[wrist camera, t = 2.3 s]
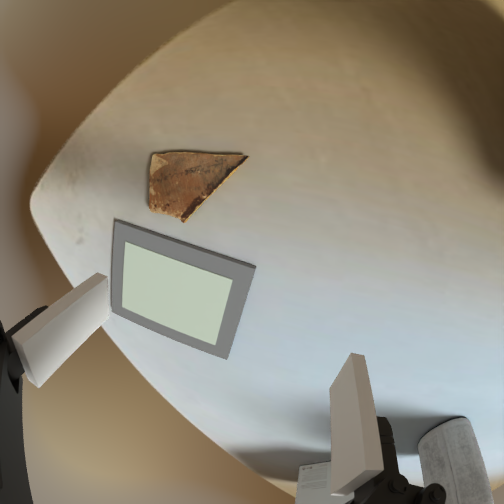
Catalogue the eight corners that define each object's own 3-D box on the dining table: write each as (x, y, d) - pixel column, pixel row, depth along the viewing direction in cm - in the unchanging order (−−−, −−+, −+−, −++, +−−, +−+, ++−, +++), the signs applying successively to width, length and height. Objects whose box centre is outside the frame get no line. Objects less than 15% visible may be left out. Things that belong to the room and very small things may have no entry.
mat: (118, 219, 32) (114, 221, 31) (256, 266, 31) (254, 269, 30) (114, 309, 38) (111, 312, 37) (228, 356, 36) (226, 360, 35)
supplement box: (316, 484, 48) (309, 544, 32) (298, 465, 45) (288, 535, 29) (370, 474, 44) (371, 536, 28) (361, 453, 41) (363, 528, 25)
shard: (251, 155, 28) (248, 155, 26) (245, 227, 30) (242, 231, 29) (157, 151, 29) (149, 151, 27) (155, 216, 32) (148, 220, 30)
